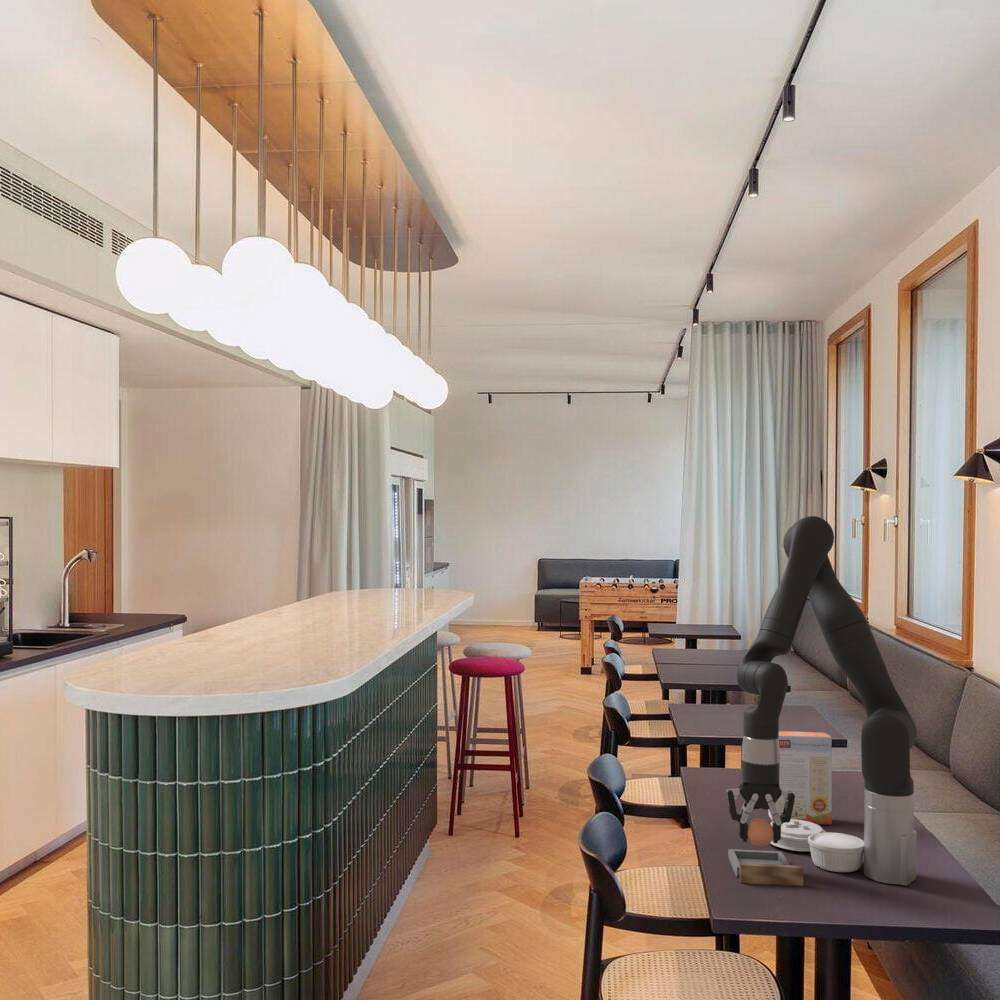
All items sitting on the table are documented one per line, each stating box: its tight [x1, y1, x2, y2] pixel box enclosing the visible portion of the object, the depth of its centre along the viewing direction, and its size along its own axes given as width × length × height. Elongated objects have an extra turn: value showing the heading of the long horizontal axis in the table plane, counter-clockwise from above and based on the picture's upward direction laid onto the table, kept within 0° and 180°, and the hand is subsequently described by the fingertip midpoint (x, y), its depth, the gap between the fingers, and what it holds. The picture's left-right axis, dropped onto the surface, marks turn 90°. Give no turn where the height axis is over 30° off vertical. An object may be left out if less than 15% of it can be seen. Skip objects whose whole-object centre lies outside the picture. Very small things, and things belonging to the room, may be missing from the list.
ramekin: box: [808, 832, 864, 873], centre depth 199 cm, size 11×11×5 cm
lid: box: [769, 819, 827, 852], centre depth 212 cm, size 13×13×5 cm
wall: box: [739, 863, 804, 886], centre depth 188 cm, size 12×1×4 cm, turn 85°
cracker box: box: [768, 730, 833, 826], centre depth 230 cm, size 14×6×21 cm, turn 84°
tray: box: [727, 848, 791, 879], centre depth 196 cm, size 11×11×2 cm
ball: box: [747, 817, 774, 848], centre depth 197 cm, size 6×6×6 cm
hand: (759, 841), depth 196 cm, fingers closed on ball, 5 cm apart
